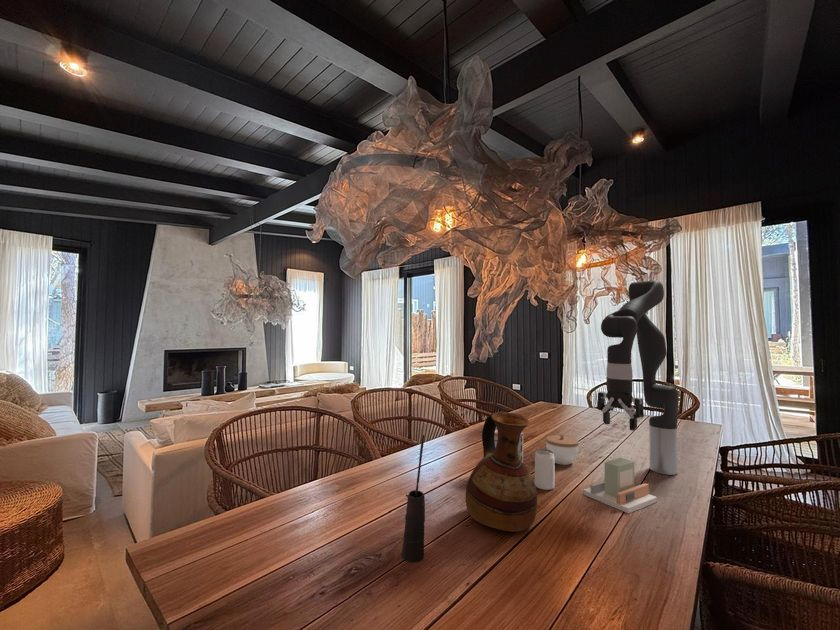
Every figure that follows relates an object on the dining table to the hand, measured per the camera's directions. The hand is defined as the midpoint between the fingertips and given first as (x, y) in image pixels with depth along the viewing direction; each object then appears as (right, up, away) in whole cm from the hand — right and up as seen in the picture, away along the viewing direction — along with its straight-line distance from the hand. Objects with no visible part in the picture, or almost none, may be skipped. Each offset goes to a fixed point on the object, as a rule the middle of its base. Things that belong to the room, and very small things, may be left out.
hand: (619, 427), depth 124 cm
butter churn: (-67, -20, -36) cm, 79 cm away
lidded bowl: (-6, -24, +33) cm, 41 cm away
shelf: (0, -23, -1) cm, 23 cm away
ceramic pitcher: (-43, -21, -17) cm, 51 cm away
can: (-22, -23, +7) cm, 33 cm away
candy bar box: (-34, -23, +14) cm, 43 cm away
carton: (0, -21, -1) cm, 21 cm away
